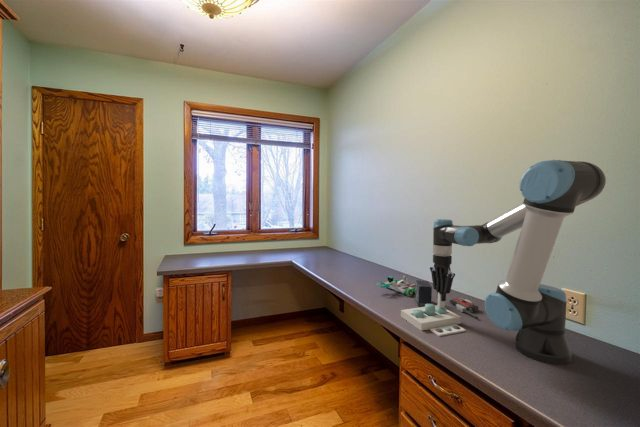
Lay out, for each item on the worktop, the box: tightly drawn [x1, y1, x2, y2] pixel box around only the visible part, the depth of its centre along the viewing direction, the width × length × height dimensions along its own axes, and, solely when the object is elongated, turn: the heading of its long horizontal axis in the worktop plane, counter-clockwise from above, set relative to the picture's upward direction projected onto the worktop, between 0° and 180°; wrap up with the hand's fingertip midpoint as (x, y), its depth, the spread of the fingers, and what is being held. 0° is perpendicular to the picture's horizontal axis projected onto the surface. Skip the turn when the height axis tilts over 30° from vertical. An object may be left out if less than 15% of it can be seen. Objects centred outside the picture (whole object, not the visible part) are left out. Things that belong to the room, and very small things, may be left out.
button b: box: [425, 303, 436, 316], centre depth 120 cm, size 4×4×4 cm
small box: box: [415, 279, 433, 308], centre depth 140 cm, size 11×6×10 cm, turn 168°
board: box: [400, 304, 462, 331], centre depth 121 cm, size 14×20×3 cm
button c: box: [413, 310, 424, 318], centre depth 119 cm, size 4×4×4 cm
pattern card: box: [429, 324, 467, 337], centre depth 111 cm, size 5×13×1 cm, turn 108°
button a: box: [436, 306, 448, 314], centre depth 122 cm, size 4×4×4 cm
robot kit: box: [375, 275, 416, 297], centre depth 157 cm, size 19×25×9 cm
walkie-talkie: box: [449, 297, 479, 319], centre depth 131 cm, size 9×4×20 cm
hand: (441, 307), depth 122 cm, fingers closed
